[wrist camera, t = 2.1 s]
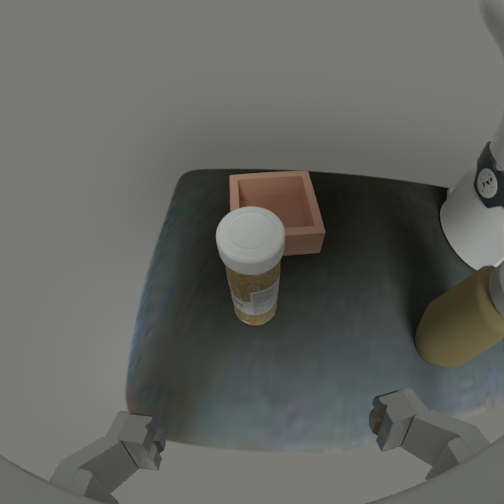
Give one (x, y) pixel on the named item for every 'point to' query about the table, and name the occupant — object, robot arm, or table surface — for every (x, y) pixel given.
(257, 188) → the terracotta socket
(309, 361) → the table surface
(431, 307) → the squeeze bottle
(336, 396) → the table surface
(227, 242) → the sprinkles bottle
